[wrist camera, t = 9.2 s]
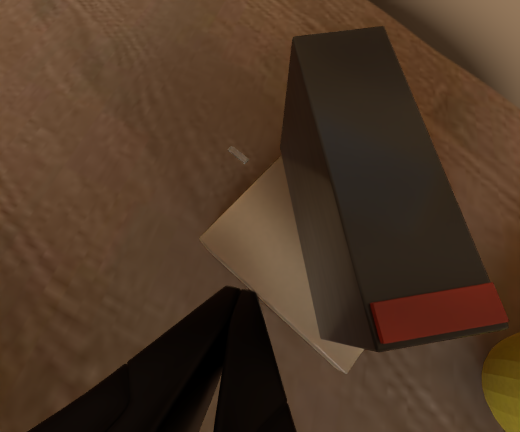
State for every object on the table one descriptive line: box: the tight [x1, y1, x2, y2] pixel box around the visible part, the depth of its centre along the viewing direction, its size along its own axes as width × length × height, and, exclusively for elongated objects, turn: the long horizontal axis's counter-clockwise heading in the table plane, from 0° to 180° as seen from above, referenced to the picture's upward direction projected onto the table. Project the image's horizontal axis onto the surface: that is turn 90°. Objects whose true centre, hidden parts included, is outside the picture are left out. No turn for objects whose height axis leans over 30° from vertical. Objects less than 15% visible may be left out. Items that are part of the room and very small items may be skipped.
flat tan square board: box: [199, 146, 364, 374], centre depth 18 cm, size 15×15×2 cm
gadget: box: [280, 26, 509, 352], centre depth 13 cm, size 11×4×8 cm, turn 9°
